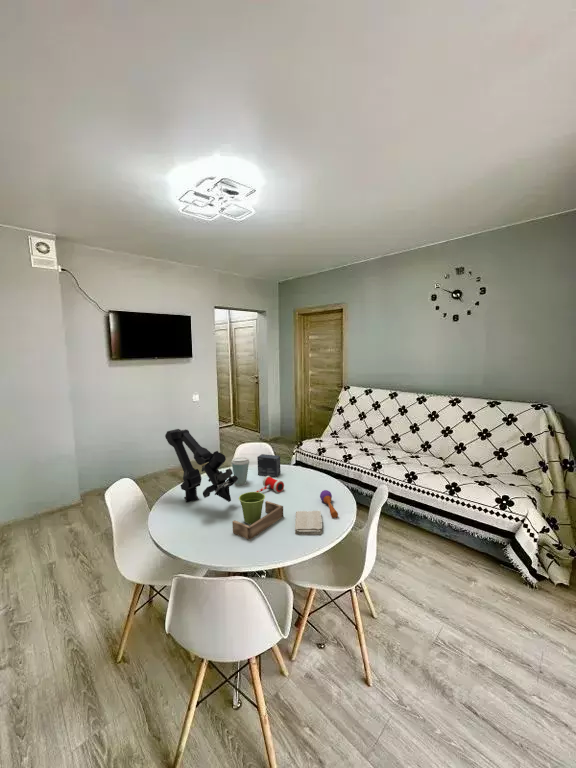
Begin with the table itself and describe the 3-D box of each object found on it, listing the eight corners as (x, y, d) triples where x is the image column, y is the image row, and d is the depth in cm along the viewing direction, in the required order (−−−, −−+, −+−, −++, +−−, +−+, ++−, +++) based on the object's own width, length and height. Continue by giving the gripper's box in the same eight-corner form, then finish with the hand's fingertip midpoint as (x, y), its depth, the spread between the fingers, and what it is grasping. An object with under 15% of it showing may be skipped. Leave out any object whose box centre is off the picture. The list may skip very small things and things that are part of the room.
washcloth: (294, 536, 134) (294, 529, 134) (295, 515, 152) (295, 508, 152) (323, 536, 134) (323, 529, 134) (320, 514, 152) (320, 508, 151)
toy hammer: (250, 504, 164) (250, 491, 163) (238, 496, 173) (237, 485, 172) (284, 491, 179) (284, 479, 178) (271, 484, 188) (271, 474, 187)
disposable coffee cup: (229, 481, 193) (228, 457, 192) (247, 478, 197) (246, 454, 196) (234, 488, 183) (233, 462, 182) (252, 484, 188) (251, 459, 186)
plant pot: (269, 524, 143) (268, 499, 142) (242, 530, 139) (242, 504, 138) (261, 512, 154) (261, 489, 153) (237, 517, 150) (236, 494, 149)
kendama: (327, 510, 147) (317, 489, 166) (329, 522, 148) (320, 499, 167) (339, 507, 147) (329, 486, 167) (341, 519, 148) (331, 497, 168)
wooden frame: (232, 532, 137) (232, 521, 136) (267, 511, 155) (266, 501, 155) (249, 540, 131) (249, 528, 131) (283, 516, 150) (283, 506, 149)
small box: (281, 474, 204) (280, 455, 203) (276, 477, 198) (276, 458, 196) (262, 471, 209) (261, 453, 208) (257, 475, 202) (256, 456, 201)
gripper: (206, 470, 147) (223, 500, 142) (235, 459, 162) (252, 485, 157) (195, 483, 152) (211, 512, 147) (224, 471, 167) (240, 497, 162)
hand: (230, 501), depth 153 cm, fingers closed
